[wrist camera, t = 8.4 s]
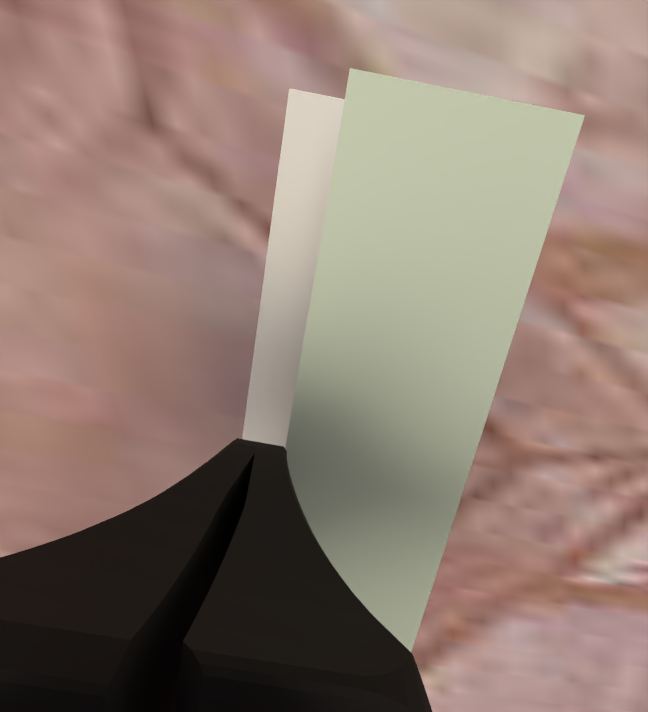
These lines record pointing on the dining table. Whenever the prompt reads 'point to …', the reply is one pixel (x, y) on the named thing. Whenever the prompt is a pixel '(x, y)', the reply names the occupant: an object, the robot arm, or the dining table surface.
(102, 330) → the dining table surface
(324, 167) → the off-white flat rectangular panel
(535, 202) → the sage lintel
